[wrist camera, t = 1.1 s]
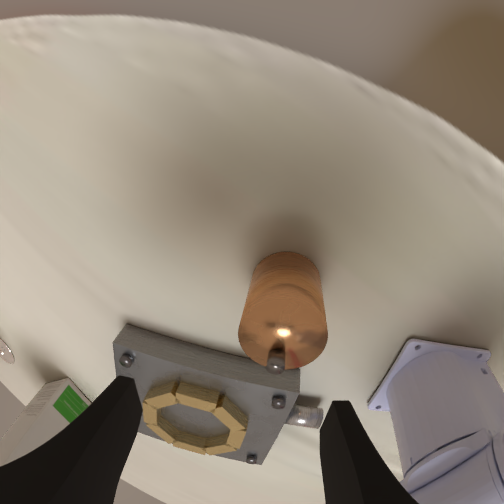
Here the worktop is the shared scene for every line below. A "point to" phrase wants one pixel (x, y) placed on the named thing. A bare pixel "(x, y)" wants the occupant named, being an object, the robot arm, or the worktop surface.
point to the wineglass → (6, 353)
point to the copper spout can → (284, 314)
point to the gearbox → (209, 396)
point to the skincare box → (42, 419)
